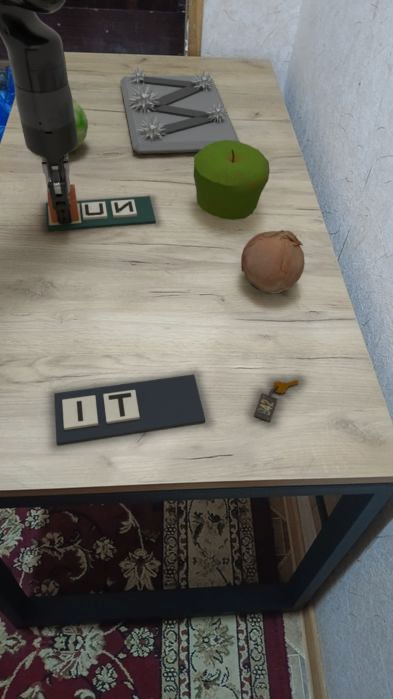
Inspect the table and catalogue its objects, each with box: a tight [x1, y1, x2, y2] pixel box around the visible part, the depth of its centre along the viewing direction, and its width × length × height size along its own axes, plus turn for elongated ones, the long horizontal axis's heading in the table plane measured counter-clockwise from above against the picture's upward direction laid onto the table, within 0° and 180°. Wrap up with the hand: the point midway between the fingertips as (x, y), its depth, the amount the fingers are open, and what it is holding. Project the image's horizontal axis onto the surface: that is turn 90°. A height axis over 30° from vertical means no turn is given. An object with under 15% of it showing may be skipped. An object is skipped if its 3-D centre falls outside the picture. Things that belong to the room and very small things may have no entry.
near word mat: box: [53, 373, 206, 446], centre depth 61 cm, size 18×7×1 cm, turn 102°
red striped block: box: [46, 183, 79, 222], centre depth 81 cm, size 4×4×4 cm
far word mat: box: [45, 195, 157, 232], centre depth 84 cm, size 18×7×1 cm, turn 102°
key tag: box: [253, 379, 299, 422], centre depth 64 cm, size 8×3×1 cm, turn 144°
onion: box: [240, 229, 306, 295], centre depth 73 cm, size 10×9×10 cm
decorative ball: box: [72, 98, 89, 151], centre depth 92 cm, size 10×10×10 cm
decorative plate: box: [119, 65, 241, 155], centre depth 103 cm, size 30×22×7 cm
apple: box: [193, 140, 270, 221], centre depth 83 cm, size 12×12×11 cm
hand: (64, 213), depth 83 cm, fingers closed on red striped block, 4 cm apart
